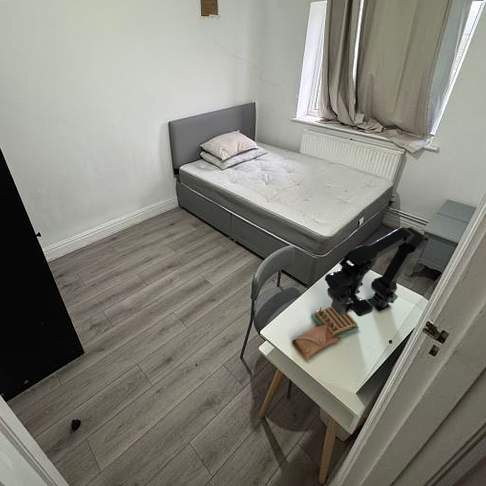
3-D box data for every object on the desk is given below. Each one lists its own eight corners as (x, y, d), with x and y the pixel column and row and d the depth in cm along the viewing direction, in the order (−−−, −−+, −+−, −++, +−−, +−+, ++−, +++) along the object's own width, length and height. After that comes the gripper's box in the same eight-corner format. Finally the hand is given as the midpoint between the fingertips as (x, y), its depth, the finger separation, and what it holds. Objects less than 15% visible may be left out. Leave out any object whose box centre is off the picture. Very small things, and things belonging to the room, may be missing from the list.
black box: (343, 301, 114) (346, 292, 111) (352, 311, 111) (356, 301, 107) (330, 305, 113) (333, 296, 110) (339, 315, 109) (343, 306, 106)
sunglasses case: (307, 362, 104) (303, 345, 103) (294, 353, 110) (290, 337, 110) (342, 340, 111) (339, 324, 110) (328, 332, 117) (325, 317, 116)
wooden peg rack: (336, 307, 123) (341, 295, 119) (357, 331, 114) (363, 319, 110) (311, 316, 120) (314, 304, 115) (330, 342, 111) (335, 330, 106)
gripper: (317, 267, 107) (309, 294, 116) (353, 306, 93) (342, 334, 102) (341, 259, 110) (332, 286, 119) (380, 296, 96) (366, 324, 105)
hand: (342, 306), depth 111 cm, fingers closed on black box, 5 cm apart
